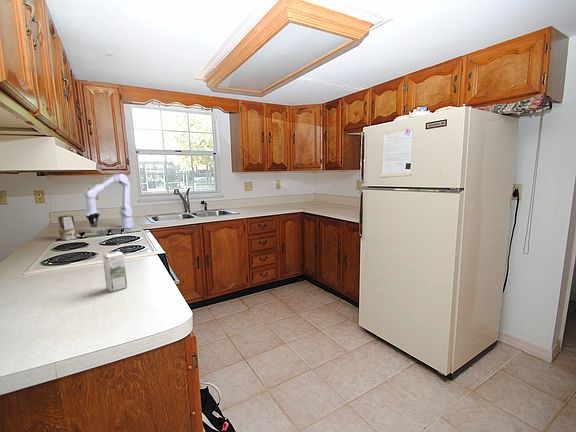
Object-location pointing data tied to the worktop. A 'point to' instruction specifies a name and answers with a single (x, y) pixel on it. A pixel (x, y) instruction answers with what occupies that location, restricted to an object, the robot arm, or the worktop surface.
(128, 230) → the lower end link
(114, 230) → the upper end link
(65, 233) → the coffee box
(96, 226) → the pin
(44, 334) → the worktop surface
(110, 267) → the syrup box
